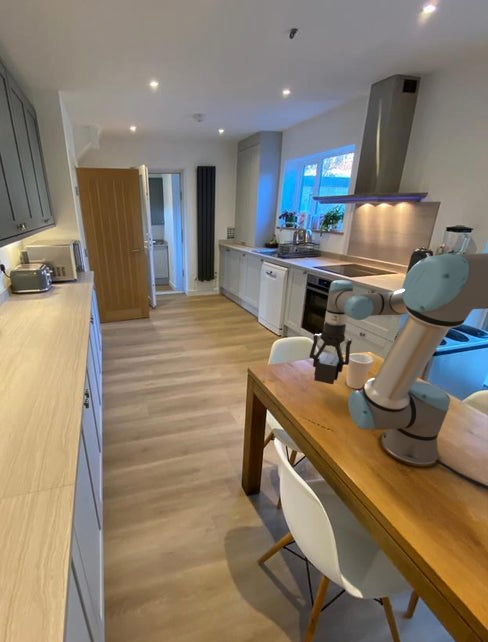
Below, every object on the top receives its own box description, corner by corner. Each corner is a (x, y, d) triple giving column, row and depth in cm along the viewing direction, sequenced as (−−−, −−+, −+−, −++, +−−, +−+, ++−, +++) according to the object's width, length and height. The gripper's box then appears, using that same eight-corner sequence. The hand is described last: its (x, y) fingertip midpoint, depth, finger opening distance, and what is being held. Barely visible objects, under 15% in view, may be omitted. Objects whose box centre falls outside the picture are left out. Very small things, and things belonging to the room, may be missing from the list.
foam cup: (369, 391, 136) (376, 364, 130) (345, 389, 137) (351, 362, 132) (362, 380, 144) (369, 354, 138) (340, 378, 146) (345, 352, 140)
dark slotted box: (320, 367, 138) (322, 350, 134) (337, 371, 134) (341, 353, 131) (314, 380, 128) (317, 362, 125) (332, 384, 125) (336, 365, 121)
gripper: (305, 321, 123) (298, 374, 132) (364, 330, 113) (351, 386, 123) (309, 316, 128) (302, 367, 138) (365, 323, 119) (354, 377, 129)
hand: (325, 376), depth 130 cm, fingers closed on dark slotted box, 7 cm apart
